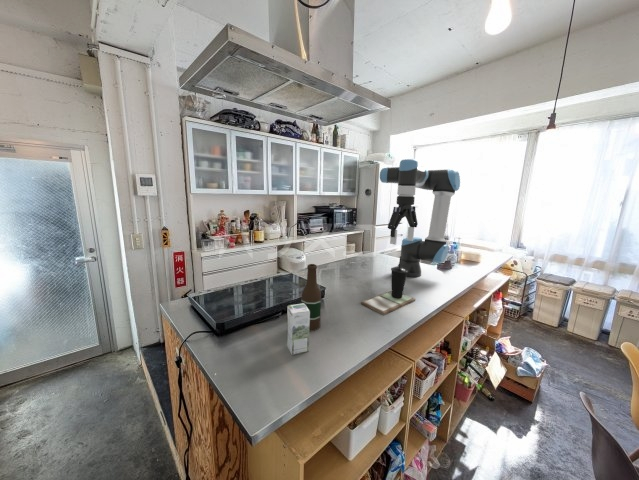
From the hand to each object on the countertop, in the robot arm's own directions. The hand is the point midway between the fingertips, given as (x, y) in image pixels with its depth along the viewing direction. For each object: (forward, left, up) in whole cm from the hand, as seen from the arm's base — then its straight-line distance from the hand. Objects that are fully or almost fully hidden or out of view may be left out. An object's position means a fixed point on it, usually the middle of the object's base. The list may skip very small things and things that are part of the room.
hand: (401, 242), depth 117 cm
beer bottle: (+48, -5, -28) cm, 56 cm away
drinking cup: (0, 0, -27) cm, 27 cm away
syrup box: (+60, +4, -28) cm, 67 cm away
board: (+6, 0, -28) cm, 29 cm away
